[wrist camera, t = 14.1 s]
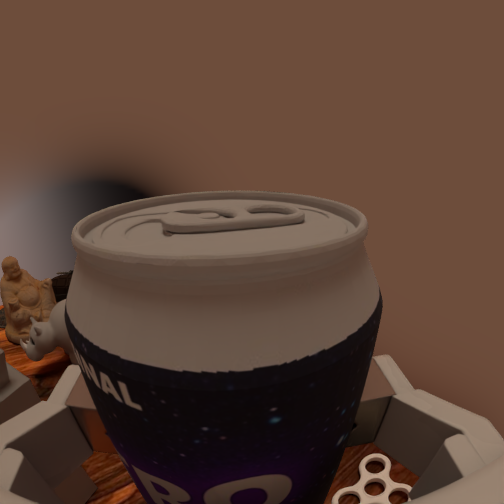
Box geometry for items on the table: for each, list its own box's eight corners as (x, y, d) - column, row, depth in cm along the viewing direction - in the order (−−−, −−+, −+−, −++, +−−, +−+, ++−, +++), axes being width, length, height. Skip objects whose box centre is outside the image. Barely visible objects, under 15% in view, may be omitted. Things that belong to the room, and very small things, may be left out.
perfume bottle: (58, 534, 13) (-81, 370, 7) (12, 493, 15) (-98, 332, 9) (97, 487, 19) (3, 316, 13) (49, 455, 21) (-32, 294, 15)
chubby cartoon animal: (28, 361, 34) (9, 309, 31) (96, 335, 42) (83, 284, 40) (38, 389, 29) (14, 332, 27) (115, 357, 38) (100, 302, 35)
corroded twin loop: (-7, 309, 45) (-6, 314, 45) (-4, 326, 40) (-3, 331, 40) (13, 302, 48) (14, 307, 49) (18, 318, 43) (20, 323, 44)
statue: (18, 253, 47) (42, 239, 44) (46, 319, 51) (74, 314, 48) (-29, 276, 36) (-12, 264, 33) (5, 349, 40) (28, 349, 36)
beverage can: (161, 478, 11) (86, 200, 7) (281, 455, 12) (298, 185, 9) (185, 585, 6) (-26, 297, 2) (333, 549, 7) (472, 240, 3)
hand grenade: (54, 294, 55) (99, 294, 56) (39, 312, 48) (87, 313, 49) (48, 270, 53) (94, 268, 54) (31, 287, 46) (80, 286, 47)
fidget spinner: (419, 501, 16) (422, 498, 16) (350, 539, 15) (351, 537, 14) (379, 452, 22) (381, 447, 22) (316, 481, 21) (316, 477, 21)
